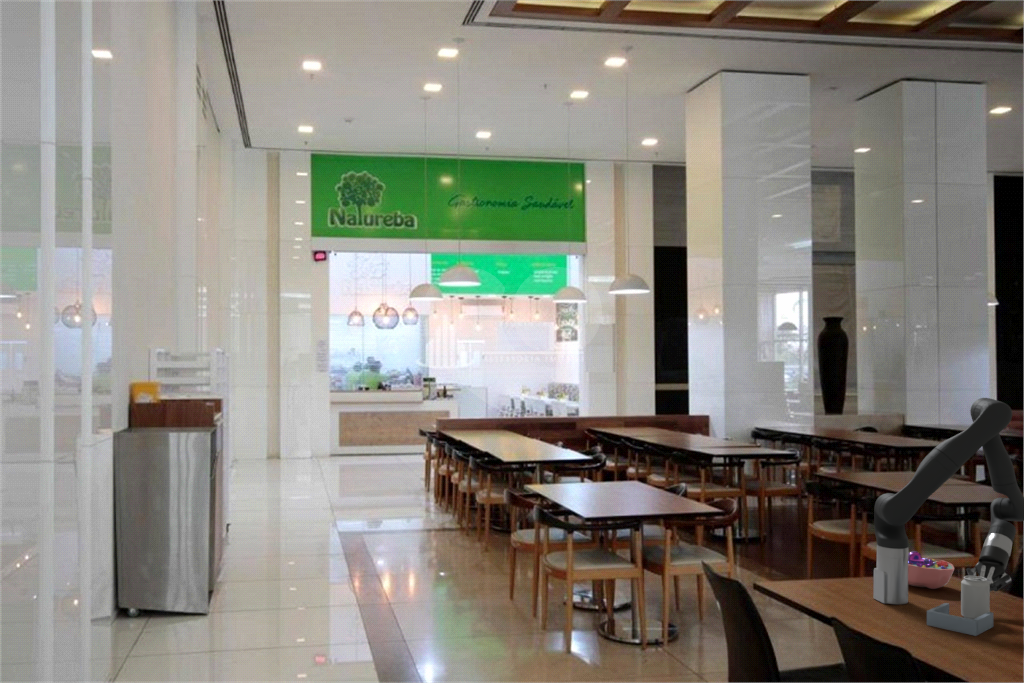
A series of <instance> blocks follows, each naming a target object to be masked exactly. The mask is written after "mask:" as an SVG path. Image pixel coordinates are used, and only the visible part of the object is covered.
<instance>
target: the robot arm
mask: <svg viewBox="0 0 1024 683" xmlns="http://www.w3.org/2000/svg"><path fill="white" fill-rule="evenodd" d="M969 411H970V417H971V419H972V420H971V421H972V423H971V424H970V425H969V426H968V427H966V429H964V430H963V431H961V432H960V433H957V434H955V435H954V436H951V437H950V438H947V439H945V440H943V441H941V442H940V443H939V444H938V445H936V446H935V447H934V448H933V449H932V450H931V451H930V452H929V453H928V454H927V455H926V456H925V457H924V458H923V459H922V461H921V462H920V463H919V465H918V467H917V469H916V471H914V472H915V473H914V475H913V476H912V477H911V479H910V480H909V482H908V483H907V484H906V485H905V486H904V487H902V488H901V489H900V490H899V491H897V493H891V492H887V493H883V494H881V495H880V496H878V497H877V499H876V501H875V502H874V508H873V509H874V511H873V512H874V513H873V516H874V518H873V519H874V522H873V523H874V534H875V538H876V567H874V568H873V597H872V598H873V599H874V600H876V601H878V602H879V603H882V604H890V605H906V604H908V603H909V584H908V553H909V538H908V536H907V533H906V527H905V526H906V525H905V524H907V523H908V522H909V521H910V520H911V519H912V518H913V516H914V515H915V514H916V513H917V511H918V510H920V508H921V507H922V505H923V504H925V502H926V500H928V499H929V498H930V497H931V496H932V495H933V494H934V493H936V491H937V490H939V488H941V487H942V486H943V485H944V484H945V483H946V482H947V481H948V480H949V479H951V478H952V477H953V476H954V474H956V473H957V471H959V469H961V467H962V466H963V465H965V463H967V461H968V460H970V459H971V458H972V457H973V456H974V455H975V454H976V453H978V451H979V450H980V449H981V448H982V450H983V452H984V457H985V460H986V463H987V468H988V473H989V478H990V482H991V483H990V484H991V486H992V490H993V491H994V492H995V493H998V494H1001V495H1004V496H1007V497H997V498H995V499H993V500H992V502H991V503H990V527H989V530H988V533H987V536H986V538H985V540H984V543H983V545H982V548H981V552H980V555H979V557H978V562H976V564H975V565H974V567H972V568H970V567H967V568H966V569H965V570H966V573H967V576H977V575H978V576H979V577H984V578H986V579H987V582H988V583H989V585H990V592H992V591H994V592H998V591H1000V590H1001V589H1002V588H1004V587H1006V586H1008V585H1009V584H1011V583H1012V578H1011V575H1010V574H1007V571H1006V569H1007V566H1008V562H1009V559H1010V557H1011V554H1012V547H1013V543H1014V539H1015V536H1016V532H1017V530H1016V527H1015V525H1014V524H1012V523H1011V522H1023V521H1024V495H1023V494H1022V492H1021V489H1020V488H1019V486H1018V482H1017V478H1016V477H1017V476H1016V472H1015V468H1014V465H1013V464H1014V463H1013V462H1012V460H1011V457H1010V455H1009V453H1008V451H1007V449H1006V446H1005V445H1004V443H1003V440H1002V438H1001V435H1000V433H1001V432H1002V431H1004V429H1005V428H1007V426H1008V425H1009V424H1010V423H1011V421H1012V418H1013V411H1012V408H1011V407H1010V405H1008V404H1007V403H1005V402H1003V401H1000V400H996V399H994V398H989V397H980V398H978V399H976V400H974V402H973V403H972V405H971V407H970V410H969Z"/></svg>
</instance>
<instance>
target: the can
mask: <svg viewBox="0 0 1024 683" xmlns="http://www.w3.org/2000/svg"><path fill="white" fill-rule="evenodd" d="M960 590H961V591H960V614H961V617H963V618H968V619H975V618H977V617H979V616H981V615H983V614H985V613H987V612H991V610H990V608H991V606H990V604H991V602H990V600H991V599H990V598H991V596H990V593H991V591H990V585H989V583H988V582H987V579H986V578H984V577H979V575H978V576H977V575H975V576H969V575H964V576H963V579H962V580H961V581H960Z"/></svg>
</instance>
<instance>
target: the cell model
mask: <svg viewBox="0 0 1024 683" xmlns="http://www.w3.org/2000/svg"><path fill="white" fill-rule="evenodd" d="M954 571H955V566H954V564H952V563H951V562H948V561H946V560H943V559H937V558H931V557H924V556H922V555H921V553H920V552H918V551H917V550H912V551H910V552H909V551H908V586H913V587H919V588H926V589H927V588H928V589H932V590H936V589H940V588H942V587H945V586H946V585H947V584H948V583H949V582H950V580H951V578H952V575H953V573H954Z"/></svg>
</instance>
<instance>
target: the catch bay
mask: <svg viewBox="0 0 1024 683" xmlns="http://www.w3.org/2000/svg"><path fill="white" fill-rule="evenodd" d="M926 626H929V627H934V628H938V629H943V630H947V631H952V632H955V633H956V632H957V633H961V634H965V635H966V634H967V635H970V636H974V637H977V636H979V635H981V634H983V633H984V632H987V631H988V630H990V629H992V628H994V612H992V611H990V612H987V613H985V614H983V615H981V616H979V617H977V618H975V619H968V618H964V617H963V616H957V615H953V614H950V603H949V602H944V603H941V604H939V605H937V606H934V607H932V608H930V609H928V610H926Z"/></svg>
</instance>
